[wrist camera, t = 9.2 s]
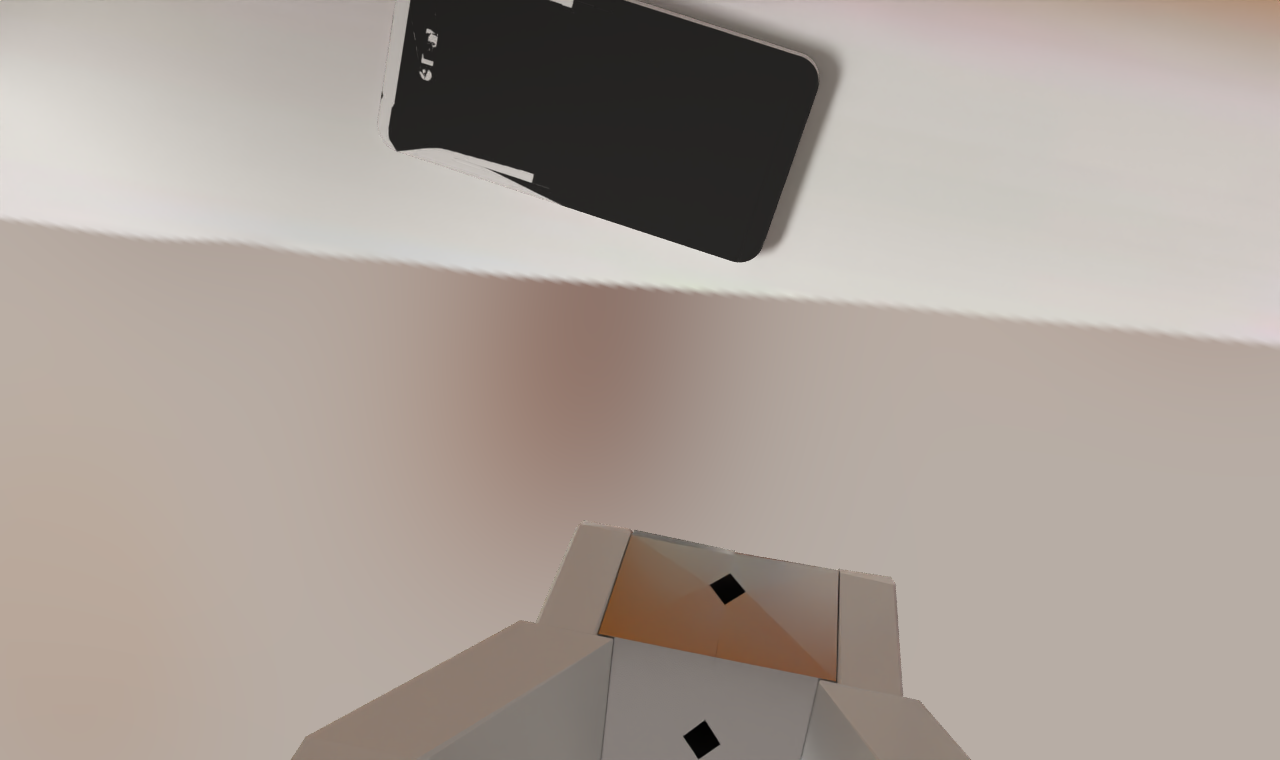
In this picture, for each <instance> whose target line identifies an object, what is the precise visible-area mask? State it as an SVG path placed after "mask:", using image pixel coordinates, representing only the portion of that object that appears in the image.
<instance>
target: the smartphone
mask: <svg viewBox="0 0 1280 760" xmlns="http://www.w3.org/2000/svg"><path fill="white" fill-rule="evenodd" d="M430 67H431V68H430ZM818 86H819V71H818V68H817V66H816V64H815V62H814V61H813V60H812V59H811V58H810V57H809V56H807V55H805V54H803V53H800V52H797V51H794V50H791V49H788V48H785V47H782V46H778V45H775V44H772V43H769V42H766V41H763V40H760V39H756V38H753V37H750V36H747V35H744V34H741V33H738V32H735V31H731V30H728V29H725V28H722V27H719V26H716V25H713V24H709V23H706V22H703V21H700V20H697V19H694V18H691V17H688V16H684V15H681V14H678V13H675V12H672V11H669V10H666V9H662V8H659V7H656V6H653V5H650V4H647V3H644V2H641V1H637V0H396V1H395V7H394V14H393V21H392V27H391V34H390V41H389V48H388V54H387V61H386V68H385V75H384V81H383V88H382V95H381V101H380V108H379V115H378V122H377V126H378V132H379V135H380V137H381V139H382V140H383V142H384V143H385V144H386V145H387V146H388V147H389V148H391V149H393V150H395V151H397V152H400V153H403V154H406V155H409V156H412V157H415V158H419V159H422V160H425V161H428V162H431V163H434V164H437V165H440V166H443V167H446V168H449V169H452V170H455V171H458V172H461V173H464V174H467V175H470V176H473V177H477V178H480V179H483V180H486V181H489V182H492V183H495V184H498V185H501V186H504V187H507V188H510V189H513V190H516V191H519V192H522V193H525V194H528V195H531V196H534V197H538V198H541V199H544V200H547V201H550V202H553V203H556V204H559V205H562V206H565V207H568V208H571V209H574V210H577V211H580V212H583V213H586V214H589V215H592V216H596V217H599V218H602V219H605V220H608V221H611V222H614V223H617V224H620V225H623V226H626V227H629V228H632V229H635V230H638V231H641V232H644V233H647V234H650V235H654V236H657V237H660V238H663V239H666V240H669V241H672V242H675V243H678V244H681V245H684V246H687V247H690V248H693V249H696V250H699V251H702V252H705V253H708V254H711V255H715V256H718V257H721V258H724V259H727V260H730V261H733V262H746V261H749V260H751V259H753V258H754V257H756V256H757V255H758V254H759V252H760V251H761V249H762V247H763V244H764V241H765V239H766V236H767V233H768V230H769V227H770V224H771V221H772V219H773V216H774V213H775V210H776V207H777V204H778V201H779V199H780V196H781V193H782V190H783V187H784V184H785V182H786V179H787V176H788V173H789V170H790V167H791V164H792V162H793V159H794V156H795V153H796V150H797V147H798V144H799V142H800V139H801V136H802V133H803V130H804V127H805V124H806V122H807V119H808V116H809V113H810V110H811V107H812V105H813V102H814V99H815V96H816V93H817V90H818Z"/></svg>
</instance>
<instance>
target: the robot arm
mask: <svg viewBox="0 0 1280 760" xmlns="http://www.w3.org/2000/svg"><path fill="white" fill-rule="evenodd" d="M291 760H971V759H970V758H969V757H968V756H967V755H966V753H965V752H964V751H963V750H962V749H961V748H960V746H959V745H958V744H957V743H956V742H955V741H954V740H953V738H952V737H951V736H950V735H949V734H948V733H947V732H946V730H945V729H944V728H943V727H942V726H941V725H940V724H939V722H938V721H937V720H936V719H935V718H934V717H933V715H932V714H931V713H930V712H929V711H928V710H927V709H926V708H925V706H924V705H923V704H922V703H921V702H920V701H919V700H915V699H910V698H906V697H903V688H902V672H901V658H900V643H899V629H898V614H897V600H896V585H895V582H894V581H893V580H892V578H891V577H887V576H881V575H874V574H867V573H861V572H855V571H848V570H842V569H838V570H834V569H828V568H822V567H817V566H811V565H805V564H800V563H793V562H788V561H783V560H777V559H771V558H766V557H759V556H754V555H749V554H743V553H737V552H735V551H733V550H728V549H723V548H718V547H714V546H709V545H704V544H699V543H695V542H690V541H685V540H680V539H676V538H671V537H666V536H661V535H657V534H652V533H647V532H642V531H637V530H634V532H632V530H631V529H628V528H623V527H617V526H612V525H607V524H601V523H596V522H590V521H585V520H584V521H583V522H582V523H580V524H579V525H578V526H577V527H576V529H575V532H574V534H573V537H572V539H571V541H570V543H569V546H568V548H567V550H566V553H565V555H564V558H563V560H562V562H561V564H560V567H559V569H558V571H557V574H556V576H555V579H554V581H553V583H552V585H551V588H550V590H549V592H548V595H547V597H546V599H545V602H544V604H543V606H542V609H541V611H540V614H539V616H538V618H537V620H536V623H533V622H528V621H522V620H521V621H518V622H516V623H515V624H513V625H511V626H509V627H507V628H505V629H503V630H502V631H500V632H498V633H496V634H494V635H492V636H490V637H489V638H487V639H485V640H483V641H481V642H480V643H478V644H476V645H474V646H472V647H470V648H469V649H467V650H465V651H463V652H461V653H459V654H457V655H456V656H454V657H452V658H450V659H448V660H446V661H444V662H443V663H441V664H439V665H437V666H435V667H433V668H432V669H430V670H428V671H426V672H424V673H422V674H421V675H419V676H417V677H415V678H413V679H412V680H410V681H408V682H406V683H404V684H402V685H400V686H399V687H397V688H395V689H393V690H391V691H389V692H388V693H386V694H384V695H382V696H380V697H378V698H376V699H375V700H373V701H371V702H369V703H367V704H365V705H363V706H362V707H360V708H358V709H356V710H355V711H352V712H351V713H349V714H347V715H345V716H343V717H342V718H340V719H338V720H336V721H334V722H332V723H330V724H329V725H327V726H325V727H323V728H321V729H320V730H317V731H316V732H314V733H312V734H310V735H308V736H307V737H305V739H304V740H303V742H302V744H301V745H300V747H299V748H298V750H297V751H296V753H295V754H294V756H293V757H292V759H291Z"/></svg>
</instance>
